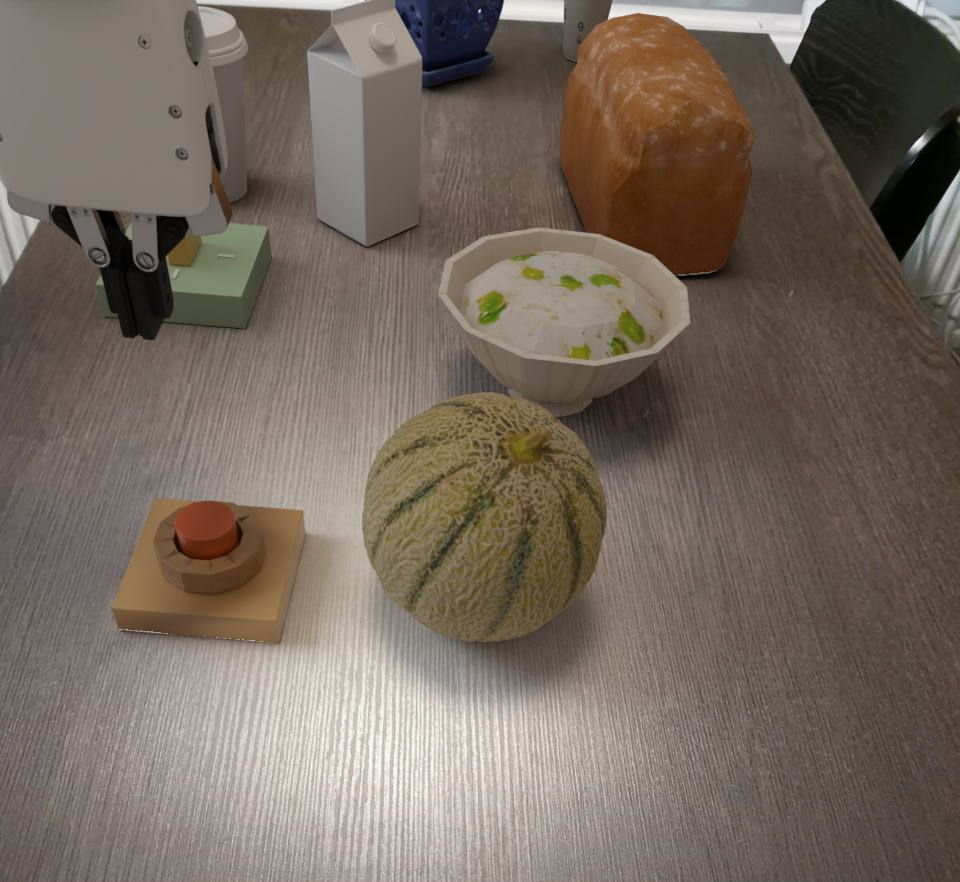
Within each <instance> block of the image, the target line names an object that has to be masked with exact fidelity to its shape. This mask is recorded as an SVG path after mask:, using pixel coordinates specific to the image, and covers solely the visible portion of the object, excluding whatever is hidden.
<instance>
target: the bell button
mask: <svg viewBox="0 0 960 882" xmlns="http://www.w3.org/2000/svg"><path fill="white" fill-rule="evenodd" d="M217 501H218V500H217ZM217 501H216V500H199V501H195V503H192V504H189V505H188V506H186V507H184V508H183V509H182V510H181V511H180V512H179V513H178V514H177V516H176V519H175V528H176V532H177V536H178V541H179V545H180V548H181V550H182V551H183V552H184V553H185V554H186V555H187V556H189V557H191V558H193V559H197V560H212V559H216V558H219V557H223V556H226V555H228V554H229V553H230V552H232V551H233V550H234V548H235V547H236V545H237V543H238V532H237V527H236V521H235V515H234V513H233V511H232V510H231V509H230V508H229V507H228V506H227V505H225V504H223V503H220V502H221V501H219V502H217Z"/></svg>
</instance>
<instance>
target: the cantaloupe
mask: <svg viewBox="0 0 960 882" xmlns="http://www.w3.org/2000/svg"><path fill="white" fill-rule="evenodd" d="M603 486H604V485H603V484H602V482H601V480H600V477H599V472H598V469H597V466H596V463H595V461H594V459H593V457H592V455H591V453H590V451H589V449H588V447H587V446H586V445H585V444H584V442H582V440H581V439H580V437H579V435H578V434H577V433H576V432H574V430H572V429H570V428H569V427H568V426H566V425H565V424H564V423H562V422H561V421H560V420H559V419H558V417H556V416H553V415H552V414H551V413H550V412H549V411H548V410H546V409H544V408H543V407H541V406H539V405H536V404H534V403H531V402H529V401H527V400H525V399H520V398H516V397H513V396H511V395H506V394H504V393H499V392H494V391H493V392H492V391H491V392H490V391H488V392H483V391H482V392H481V391H480V392H474V393H466V394H461V395H457V396H451V397H449V398H447V399H444V400H442V401H439V402H437V403H436V404H433V405H432V406H431V407H430V408H429V409H426V410H425V411H422V412H420V413H418V414H417V415H415V416H413V417H411V418H409V419H408V420H406V421H405V422H403V423H402V424H401V425H400V426H399V427H398V428H396V429H395V431H394V433H393V434H392V435H391V436H390V437H389V438H387V439H386V440H385V441H384V443H383V444H382V446H381V448H380V449H379V451H378V453H377V454H376V457H375V458H374V459H373V461H372V464H371V465H370V469H369V472H368V473H367V478H366V483H365V487H364V488H365V489H364V496H363V498H364V500H363V501H364V502H363V510H362V514H361V525H362V526H361V531H362V534H363V545H364V548H365V550H366V556H367V558H368V561H369V563H370V565H371V567H372V569H373V570H374V572H375V574H376V576H377V578H378V580H379V582H380V585H381V588H383V590H384V592H385V593H386V594H387V596H388V598H389V599H391V600H392V601H393V602H394V603H395V604H396V605H397V606H398V607H399V608H400V609H401V610H402V611H404V612H406V613H408V614H409V615H411V616H412V617H413V618H414V619H415V620H416V621H418V622H419V623H420V624H422V625H423V626H424V627H426V628H428V629H430V630H431V631H434V632H435V633H437V634H440V635H442V636H444V637H447V638H450V639H453V640H461V641H465V642H469V643H470V642H479V643H488V642H497V643H498V642H503V641H509V640H512V639H513V640H514V639H517V638H521V637H524V636H526V635H528V634H530V633H534V632H535V631H538V630H539V629H540V628H542V627H543V626H544V625H546V624H547V623H548V622H550V621H551V620H553V619H554V618H555V617H556V616H559V615H560V614H562V613H563V612H564V611H565V610H566V609H567V608H569V607H570V606H571V605H572V604H573V602H574V601H575V600H576V599H577V598H579V596H580V594H581V593H582V592H583V591H584V589H585V588H586V586H587V585H588V583H589V582H590V580H591V578H592V577H593V575H594V573H595V571H596V568H597V565H598V561H599V557H600V553H601V548H602V544H603V543H602V542H603V538H604V536H605V535H606V527H607V520H608V507H607V504H608V503H607V498H606V494H605V490H604V487H603Z"/></svg>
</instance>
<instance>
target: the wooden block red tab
mask: <svg viewBox="0 0 960 882" xmlns="http://www.w3.org/2000/svg"><path fill="white" fill-rule="evenodd" d="M201 242H202V241H201V236H198V237H193V236H189V237H184V239H183V240H182V241H181V242H180V243H179V244H178V245H177V246H176V247H175V248H174V249H173V250H172V251H171V252H170V253H169V254H168V259H169V264H171V265H183V266H191V264H192V261H193V259H194V257H195V255H196V253H197V251H198V249H199V246H200V244H201Z"/></svg>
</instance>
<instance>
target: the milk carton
mask: <svg viewBox="0 0 960 882" xmlns="http://www.w3.org/2000/svg"><path fill="white" fill-rule="evenodd" d="M330 19H331V21H330V22H331V25H330V26H329V27H327V29H326V30H325V31H324V33H322V34H321V35H320V37H318V39H316V41H315V42H314V43H313V44H312V45H311V46H310V47H309V48H308V50H307V51H306V55H307V71H308V88H309V89H308V90H309V103H310V104H309V105H310V120H311V122H310V123H311V135H312V136H311V138H312V152H313V153H312V154H313V155H312V156H313V170H314V171H313V172H314V186H315V202H316V203H315V204H316V218H317V219H318V220H319V221H321V222H323V223H324V224H326V225H327V226H330V227H332V228H333V229H335V230H336V231H338V232H340V233H341V234H343V235H345V236H347V237H349V238H351V239H352V240H354V241H355V242H358V243H359V244H361V245H363V246H364V247H370V246H372V245H375V244H377V243H379V242H381V241H383V240H386V239H389V238H390V237H393V236H396V235H397V234H400V233H402V232H404V231H407V230H408V229H411V228H413V227H415V226H418V225H419V222H420V192H421V191H420V189H421V187H420V185H421V184H420V183H421V182H420V181H421V143H422V141H421V139H422V137H421V135H422V98H423V97H422V92H423V90H422V88H423V85H422V56H421V54H420V52H419V51H418V49H417V47H416V45H415V43H414V41H413V40H412V38H411V36H410V34H409V32H408V30H407V29H406V27H405V25H404V23H403V21H402V19H401V17H400V16H399V14H398V12H397V10H396V8H395V0H366V1H365V0H362V1H359V2H356V3H352V4H348V5H345V6H341V7H336V8H332V9H331V10H330Z"/></svg>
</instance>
